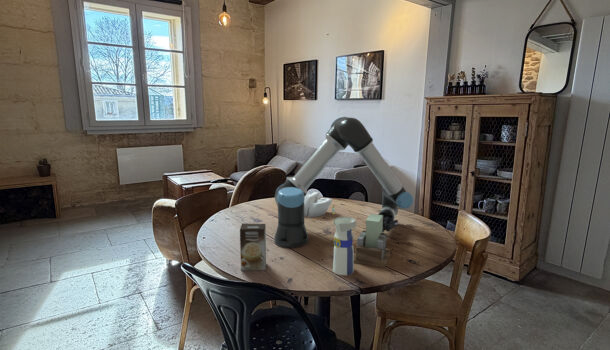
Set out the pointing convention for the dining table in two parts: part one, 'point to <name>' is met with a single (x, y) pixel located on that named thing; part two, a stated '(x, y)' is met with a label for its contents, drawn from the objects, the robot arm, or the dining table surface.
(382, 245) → the band guide
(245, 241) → the food box
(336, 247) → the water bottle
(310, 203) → the wavy white extrusion
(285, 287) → the dining table surface
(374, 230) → the sage block
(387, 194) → the robot arm
